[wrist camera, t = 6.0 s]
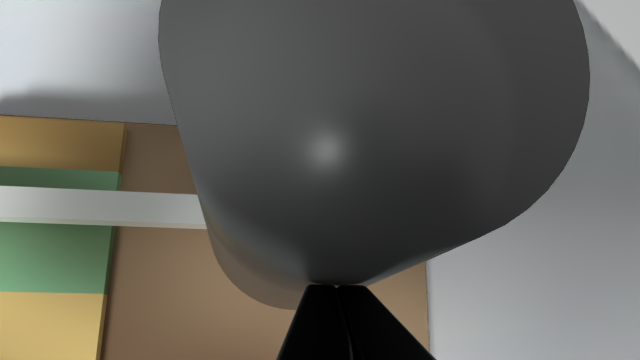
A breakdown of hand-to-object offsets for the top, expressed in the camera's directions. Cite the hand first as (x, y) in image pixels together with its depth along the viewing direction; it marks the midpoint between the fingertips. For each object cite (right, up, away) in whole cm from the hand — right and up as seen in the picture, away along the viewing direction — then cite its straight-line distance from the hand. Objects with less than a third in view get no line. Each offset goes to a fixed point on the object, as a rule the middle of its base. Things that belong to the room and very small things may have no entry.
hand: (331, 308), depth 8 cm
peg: (-3, +3, +6) cm, 8 cm away
